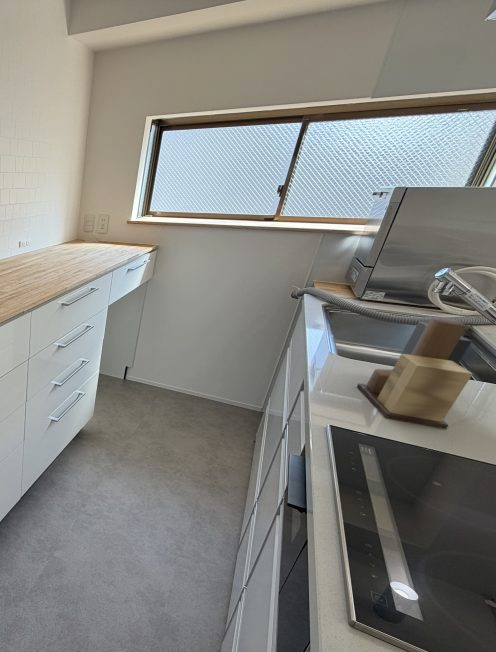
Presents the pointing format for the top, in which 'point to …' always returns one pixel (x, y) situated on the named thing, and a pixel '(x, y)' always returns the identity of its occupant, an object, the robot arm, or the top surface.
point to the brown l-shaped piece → (427, 347)
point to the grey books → (454, 355)
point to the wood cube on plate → (419, 390)
